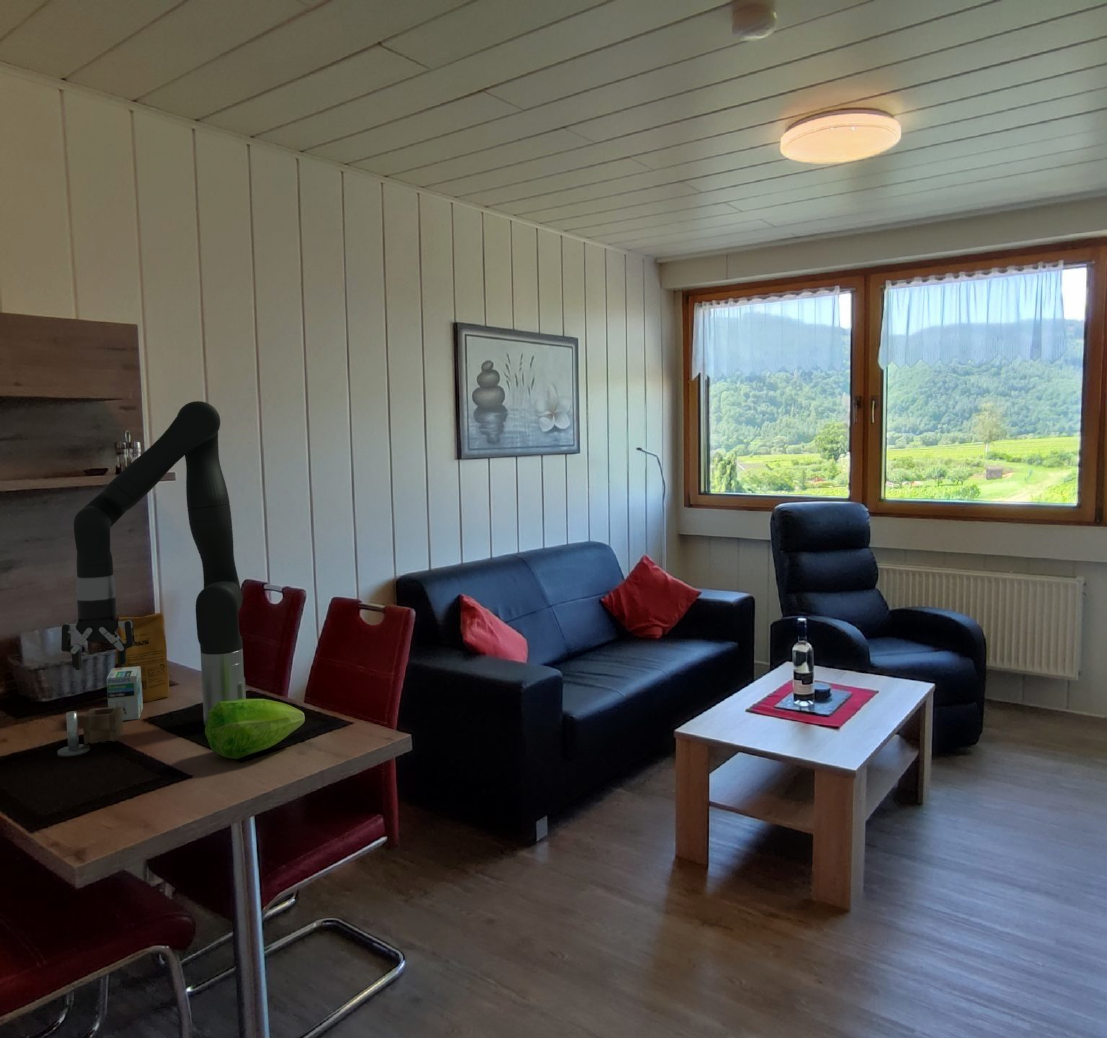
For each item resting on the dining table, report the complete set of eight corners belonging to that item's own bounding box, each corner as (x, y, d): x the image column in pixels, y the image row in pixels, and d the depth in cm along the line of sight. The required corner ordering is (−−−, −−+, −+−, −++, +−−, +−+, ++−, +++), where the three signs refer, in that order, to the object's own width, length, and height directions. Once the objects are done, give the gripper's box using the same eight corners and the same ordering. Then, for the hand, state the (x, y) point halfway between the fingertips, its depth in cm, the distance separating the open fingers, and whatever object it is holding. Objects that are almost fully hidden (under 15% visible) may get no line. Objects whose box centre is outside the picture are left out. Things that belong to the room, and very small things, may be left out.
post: (93, 745, 182) (90, 707, 181) (85, 755, 176) (83, 715, 175) (62, 748, 180) (60, 709, 179) (53, 758, 174) (51, 718, 174)
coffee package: (114, 697, 218) (109, 614, 216) (165, 689, 225) (161, 609, 223) (118, 707, 210) (113, 621, 208) (172, 698, 216) (167, 615, 215)
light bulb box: (139, 719, 200) (137, 675, 199) (108, 723, 197) (105, 678, 196) (143, 707, 210) (141, 665, 209) (113, 710, 207) (111, 667, 206)
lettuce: (312, 753, 175) (310, 698, 174) (210, 772, 166) (208, 713, 165) (298, 734, 187) (296, 682, 187) (202, 751, 178) (199, 696, 177)
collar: (123, 731, 191) (121, 706, 190) (116, 741, 185) (114, 714, 184) (92, 734, 189) (90, 708, 189) (84, 744, 183) (82, 717, 182)
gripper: (135, 591, 190) (138, 661, 191) (65, 594, 186) (69, 666, 187) (127, 597, 183) (131, 669, 184) (55, 600, 179) (58, 674, 180)
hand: (99, 667), depth 186 cm, fingers open, 8 cm apart
